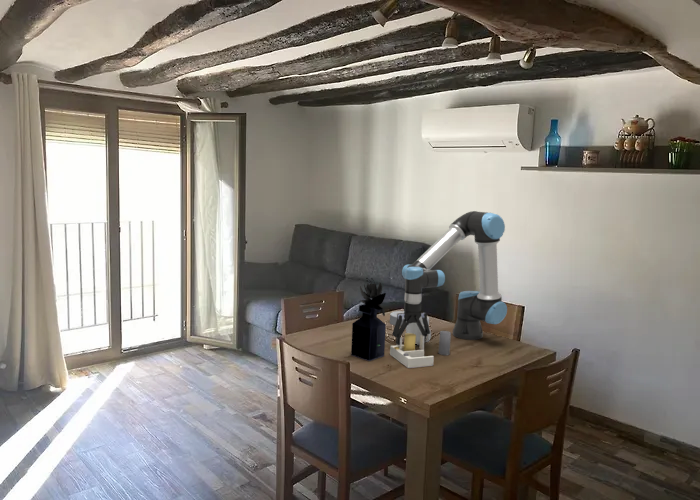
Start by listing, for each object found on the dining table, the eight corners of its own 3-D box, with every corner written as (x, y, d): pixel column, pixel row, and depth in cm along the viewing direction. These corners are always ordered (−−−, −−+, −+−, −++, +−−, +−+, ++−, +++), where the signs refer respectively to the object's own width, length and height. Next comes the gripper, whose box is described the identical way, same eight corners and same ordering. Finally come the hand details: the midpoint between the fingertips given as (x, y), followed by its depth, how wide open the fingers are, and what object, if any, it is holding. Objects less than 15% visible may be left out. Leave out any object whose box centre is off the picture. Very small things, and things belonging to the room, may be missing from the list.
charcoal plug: (445, 351, 253) (447, 330, 252) (451, 354, 248) (453, 333, 247) (436, 352, 251) (437, 331, 250) (442, 355, 246) (443, 334, 245)
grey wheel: (423, 324, 299) (423, 315, 298) (406, 329, 288) (406, 319, 287) (401, 318, 309) (401, 309, 309) (383, 322, 298) (384, 313, 298)
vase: (391, 357, 242) (395, 279, 237) (374, 362, 233) (378, 282, 229) (366, 349, 251) (370, 274, 247) (350, 354, 243) (353, 277, 238)
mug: (438, 347, 259) (439, 320, 257) (420, 350, 253) (421, 323, 251) (417, 338, 271) (419, 312, 269) (400, 341, 265) (401, 315, 263)
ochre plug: (411, 354, 247) (412, 332, 245) (416, 357, 242) (417, 336, 241) (401, 355, 245) (402, 333, 244) (406, 358, 240) (407, 336, 239)
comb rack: (413, 352, 250) (414, 342, 249) (433, 365, 233) (433, 355, 232) (389, 354, 245) (390, 344, 245) (408, 368, 229) (408, 357, 228)
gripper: (431, 298, 248) (429, 345, 251) (385, 301, 240) (383, 350, 243) (439, 302, 241) (437, 350, 244) (393, 305, 233) (390, 355, 236)
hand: (410, 350), depth 244 cm, fingers open, 10 cm apart
